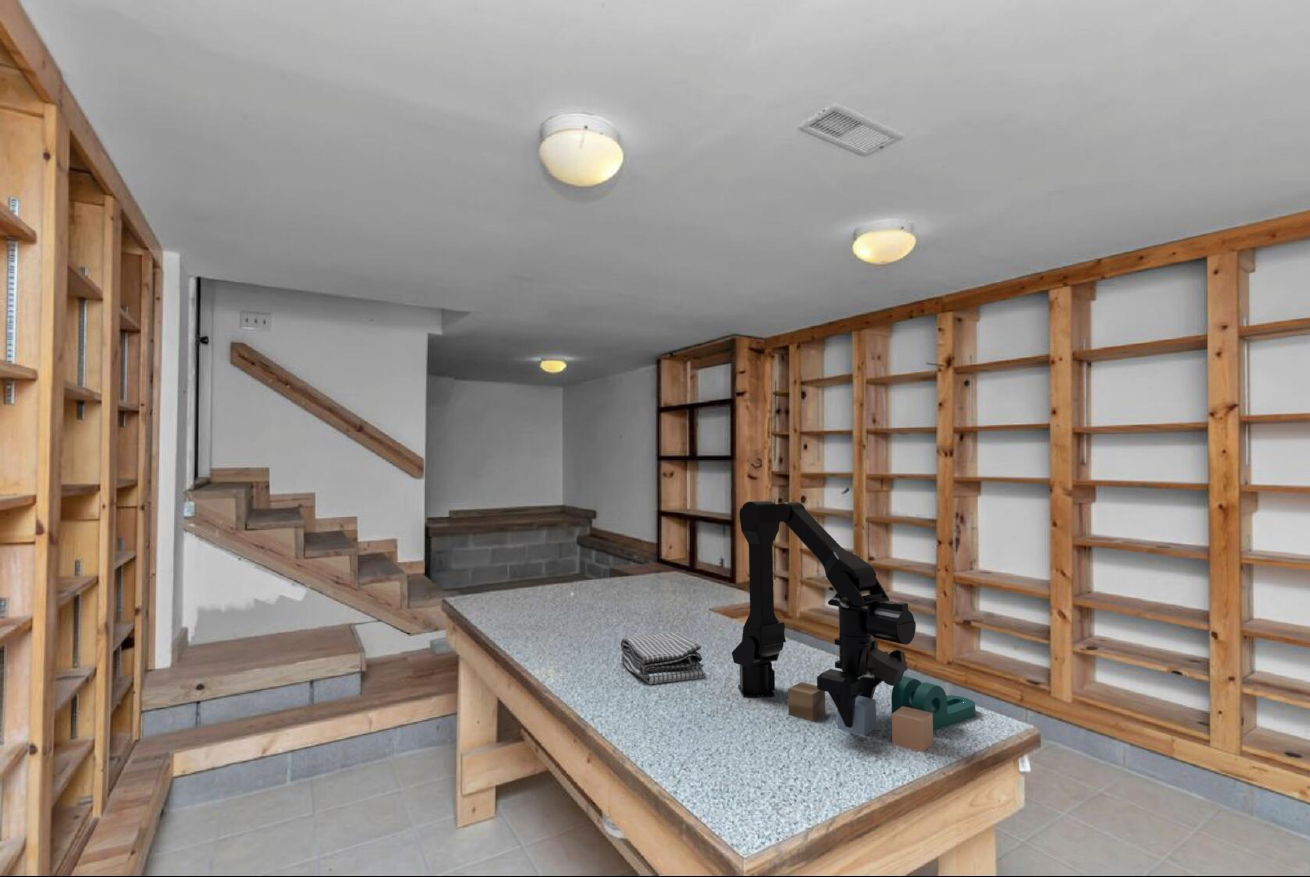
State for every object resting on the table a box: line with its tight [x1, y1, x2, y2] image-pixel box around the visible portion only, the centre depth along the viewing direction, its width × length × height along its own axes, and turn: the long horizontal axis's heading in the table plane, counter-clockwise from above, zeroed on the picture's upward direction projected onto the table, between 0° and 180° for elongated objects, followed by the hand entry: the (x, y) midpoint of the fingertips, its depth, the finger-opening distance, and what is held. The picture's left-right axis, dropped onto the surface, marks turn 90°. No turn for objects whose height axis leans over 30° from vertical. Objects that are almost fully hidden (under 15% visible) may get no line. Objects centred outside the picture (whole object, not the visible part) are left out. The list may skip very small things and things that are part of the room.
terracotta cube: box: [891, 706, 934, 753], centre depth 108 cm, size 5×5×5 cm
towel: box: [620, 631, 707, 685], centre depth 149 cm, size 15×18×8 cm
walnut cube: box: [787, 681, 826, 722], centre depth 122 cm, size 5×5×5 cm
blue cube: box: [836, 696, 877, 737], centre depth 115 cm, size 5×5×5 cm
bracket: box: [890, 675, 977, 732], centre depth 120 cm, size 18×7×8 cm, turn 123°
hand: (856, 721), depth 115 cm, fingers open, 6 cm apart
